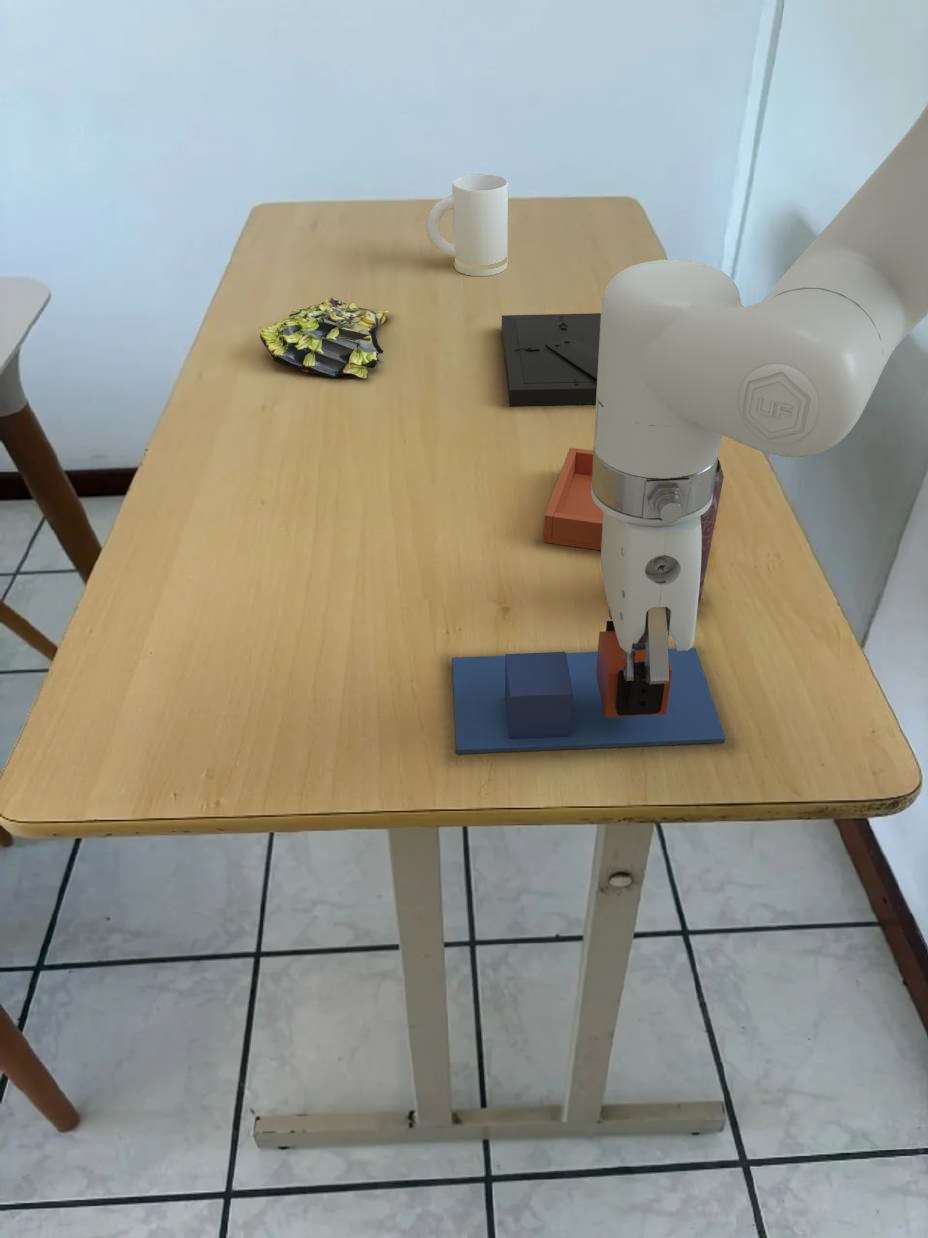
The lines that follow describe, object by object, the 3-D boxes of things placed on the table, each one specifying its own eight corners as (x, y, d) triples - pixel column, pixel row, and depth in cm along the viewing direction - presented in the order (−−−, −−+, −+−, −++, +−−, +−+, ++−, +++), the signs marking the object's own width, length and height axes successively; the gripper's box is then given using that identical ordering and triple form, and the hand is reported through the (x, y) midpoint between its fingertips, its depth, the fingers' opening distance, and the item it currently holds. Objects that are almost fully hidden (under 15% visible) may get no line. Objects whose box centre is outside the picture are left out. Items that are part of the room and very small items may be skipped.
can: (696, 577, 86) (720, 440, 77) (702, 623, 81) (729, 483, 72) (627, 574, 87) (644, 438, 78) (630, 619, 82) (648, 480, 73)
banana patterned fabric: (311, 311, 134) (321, 266, 131) (416, 357, 133) (429, 312, 129) (239, 349, 118) (248, 299, 114) (358, 402, 116) (370, 352, 113)
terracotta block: (654, 672, 73) (660, 627, 70) (666, 714, 70) (672, 669, 67) (596, 675, 73) (598, 631, 70) (605, 718, 70) (608, 673, 67)
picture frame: (645, 403, 111) (620, 327, 127) (648, 380, 109) (622, 306, 125) (509, 406, 111) (501, 330, 127) (510, 383, 109) (501, 309, 125)
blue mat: (694, 652, 79) (695, 647, 78) (724, 743, 71) (726, 738, 71) (452, 661, 78) (451, 657, 78) (456, 754, 71) (456, 749, 70)
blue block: (562, 693, 75) (565, 651, 72) (569, 736, 71) (573, 693, 68) (504, 696, 75) (505, 653, 72) (509, 739, 71) (510, 696, 68)
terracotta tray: (710, 492, 97) (715, 465, 95) (699, 565, 88) (704, 538, 86) (568, 473, 100) (569, 447, 98) (543, 542, 91) (544, 515, 89)
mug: (427, 258, 147) (423, 175, 139) (504, 255, 147) (505, 172, 140) (429, 278, 141) (425, 193, 133) (509, 275, 141) (510, 189, 133)
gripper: (750, 550, 53) (708, 770, 64) (684, 405, 66) (659, 611, 77) (614, 557, 53) (597, 776, 64) (574, 411, 66) (566, 616, 77)
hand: (631, 684), depth 71 cm, fingers closed on terracotta block, 4 cm apart
